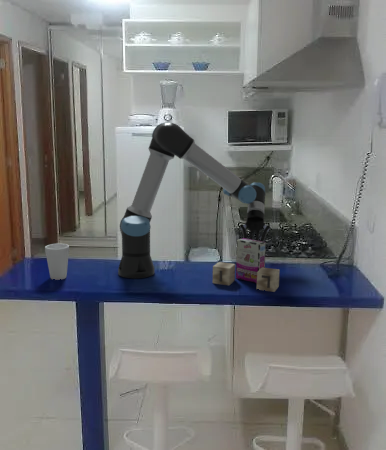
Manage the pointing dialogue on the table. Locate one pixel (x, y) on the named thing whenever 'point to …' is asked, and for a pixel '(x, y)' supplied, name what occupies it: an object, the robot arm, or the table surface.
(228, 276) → the wooden character cube
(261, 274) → the light wood cube
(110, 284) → the table surface
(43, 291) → the table surface
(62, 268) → the foam cup
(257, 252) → the candy bar box
